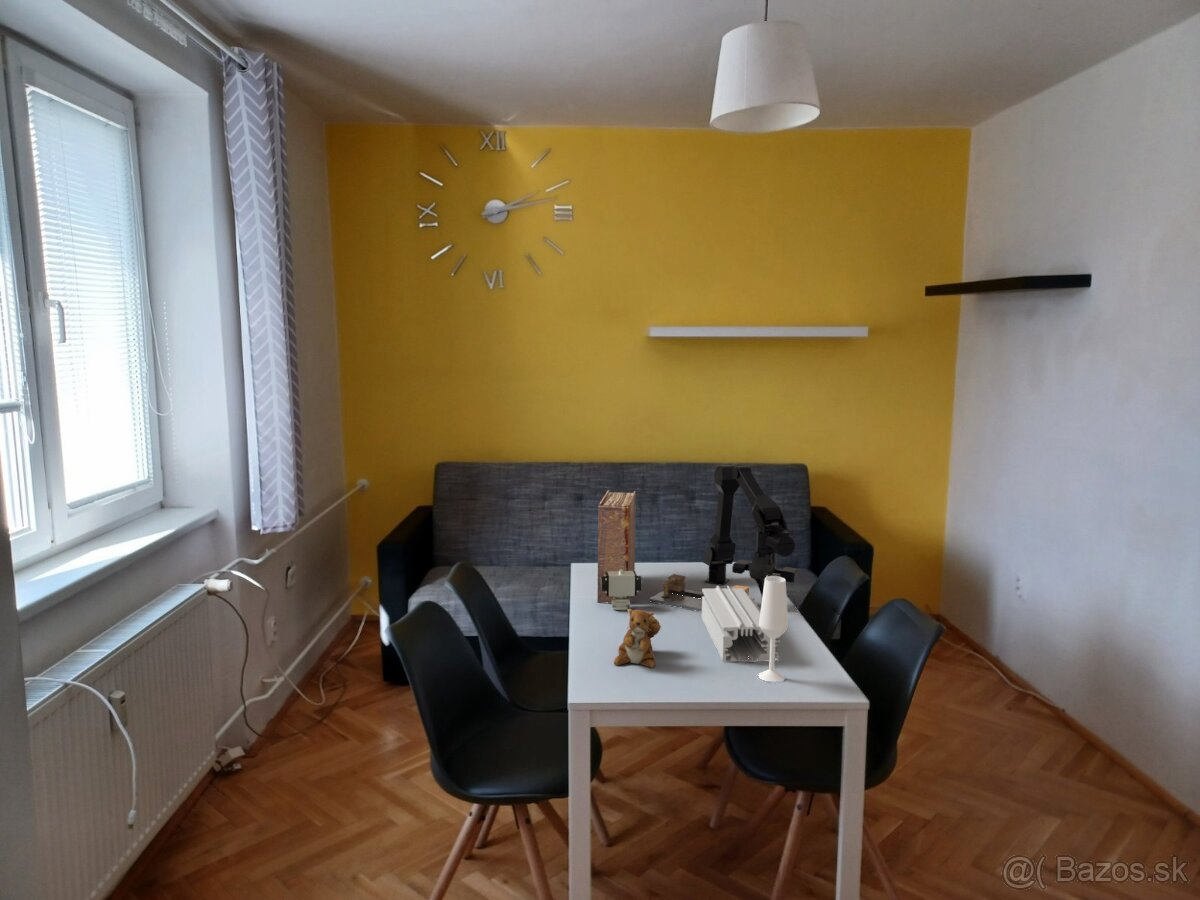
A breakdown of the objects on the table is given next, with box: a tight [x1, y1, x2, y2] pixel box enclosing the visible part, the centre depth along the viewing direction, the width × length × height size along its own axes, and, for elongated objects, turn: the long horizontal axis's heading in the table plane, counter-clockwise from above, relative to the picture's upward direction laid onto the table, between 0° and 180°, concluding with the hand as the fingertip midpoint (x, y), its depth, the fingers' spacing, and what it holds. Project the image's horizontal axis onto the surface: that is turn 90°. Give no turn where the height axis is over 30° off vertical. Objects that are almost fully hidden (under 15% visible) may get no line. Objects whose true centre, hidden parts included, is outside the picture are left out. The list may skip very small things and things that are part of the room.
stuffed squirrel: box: [613, 608, 662, 669], centre depth 197 cm, size 10×14×13 cm
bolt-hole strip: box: [649, 591, 702, 613], centre depth 238 cm, size 8×24×1 cm, turn 59°
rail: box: [668, 588, 755, 601], centre depth 243 cm, size 3×28×2 cm, turn 59°
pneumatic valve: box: [600, 569, 643, 611], centre depth 233 cm, size 6×12×12 cm, turn 95°
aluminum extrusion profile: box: [700, 585, 781, 662], centre depth 211 cm, size 14×31×10 cm, turn 2°
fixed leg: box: [661, 573, 686, 596], centre depth 245 cm, size 11×4×4 cm, turn 149°
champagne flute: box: [757, 576, 789, 682], centre depth 185 cm, size 7×7×24 cm
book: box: [597, 489, 637, 604], centre depth 249 cm, size 25×9×30 cm, turn 173°
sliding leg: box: [732, 584, 750, 597], centre depth 234 cm, size 11×4×4 cm, turn 149°
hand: (764, 598), depth 233 cm, fingers closed
